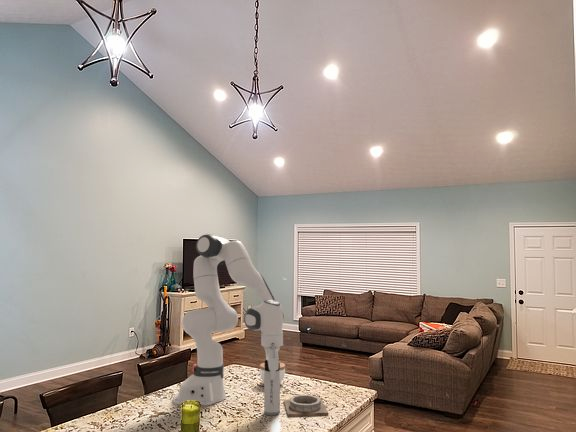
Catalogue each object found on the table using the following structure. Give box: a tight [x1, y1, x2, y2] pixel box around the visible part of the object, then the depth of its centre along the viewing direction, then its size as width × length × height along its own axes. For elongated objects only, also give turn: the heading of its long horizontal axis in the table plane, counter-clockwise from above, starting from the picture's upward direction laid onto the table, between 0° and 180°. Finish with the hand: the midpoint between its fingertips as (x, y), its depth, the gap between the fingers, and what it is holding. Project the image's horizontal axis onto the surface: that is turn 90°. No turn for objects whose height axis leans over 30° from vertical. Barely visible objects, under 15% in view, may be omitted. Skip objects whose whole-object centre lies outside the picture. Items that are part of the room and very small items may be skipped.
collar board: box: [283, 394, 329, 418], centre depth 175 cm, size 16×16×4 cm
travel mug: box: [263, 359, 281, 416], centre depth 171 cm, size 6×7×20 cm
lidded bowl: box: [259, 361, 286, 384], centre depth 209 cm, size 13×13×11 cm
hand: (271, 376), depth 171 cm, fingers closed on travel mug, 6 cm apart
